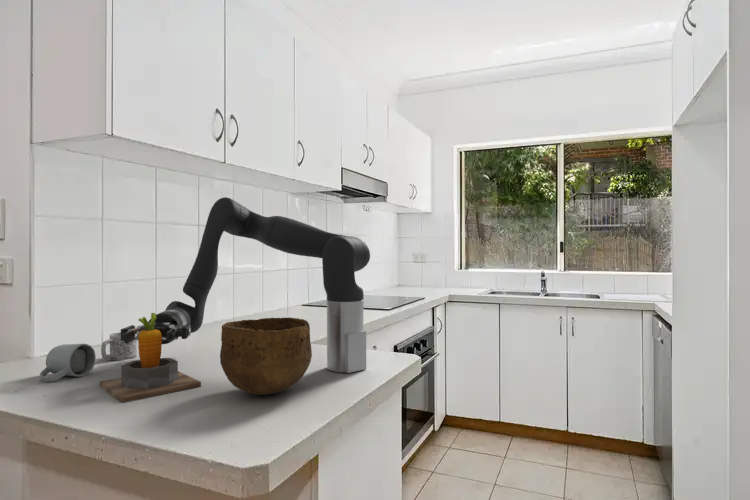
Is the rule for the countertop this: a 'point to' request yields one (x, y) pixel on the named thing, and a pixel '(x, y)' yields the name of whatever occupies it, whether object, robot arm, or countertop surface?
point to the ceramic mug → (68, 361)
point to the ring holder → (148, 381)
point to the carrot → (149, 343)
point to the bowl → (265, 353)
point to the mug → (119, 348)
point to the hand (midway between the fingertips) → (147, 337)
